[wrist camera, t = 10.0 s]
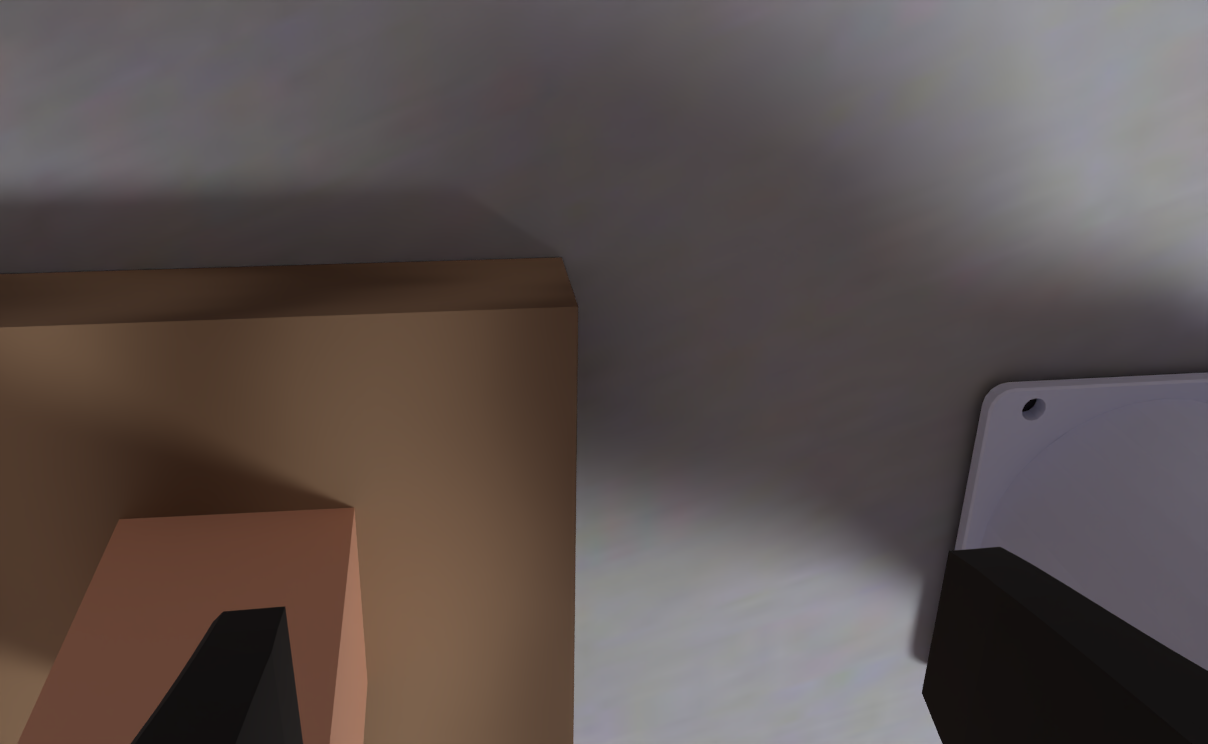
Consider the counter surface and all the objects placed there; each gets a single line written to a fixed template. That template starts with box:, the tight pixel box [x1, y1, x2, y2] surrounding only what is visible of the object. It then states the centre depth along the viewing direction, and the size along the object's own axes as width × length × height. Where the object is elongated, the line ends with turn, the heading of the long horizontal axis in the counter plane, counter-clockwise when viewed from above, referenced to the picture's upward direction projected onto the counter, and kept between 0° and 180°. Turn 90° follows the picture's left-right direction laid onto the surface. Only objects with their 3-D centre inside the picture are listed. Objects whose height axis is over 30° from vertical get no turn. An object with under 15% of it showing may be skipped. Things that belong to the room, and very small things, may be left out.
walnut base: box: [0, 257, 578, 744], centre depth 21 cm, size 12×12×2 cm
